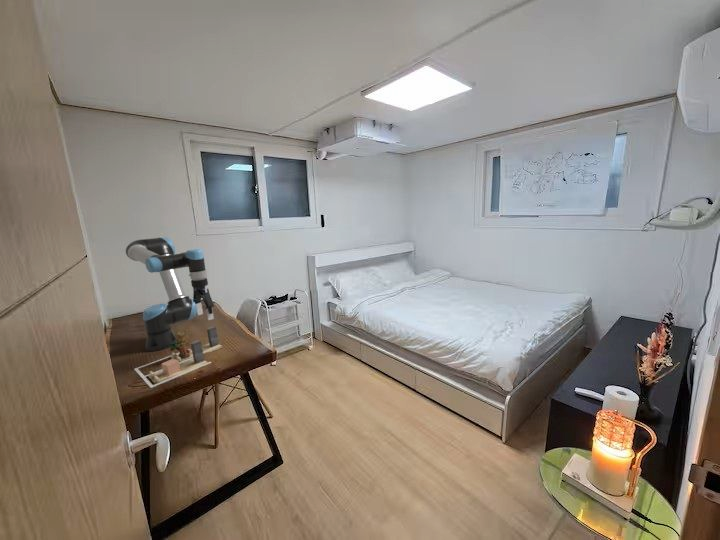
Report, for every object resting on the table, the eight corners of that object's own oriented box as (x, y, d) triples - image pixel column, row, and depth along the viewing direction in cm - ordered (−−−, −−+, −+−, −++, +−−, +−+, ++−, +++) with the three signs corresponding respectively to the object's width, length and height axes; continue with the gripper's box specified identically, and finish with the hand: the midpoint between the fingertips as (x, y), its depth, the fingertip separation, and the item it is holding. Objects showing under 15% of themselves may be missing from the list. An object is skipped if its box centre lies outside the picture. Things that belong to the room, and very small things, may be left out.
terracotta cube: (163, 373, 133) (161, 363, 132) (174, 368, 138) (172, 358, 137) (169, 376, 131) (167, 365, 130) (180, 370, 135) (178, 360, 134)
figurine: (191, 353, 154) (186, 327, 151) (194, 358, 148) (189, 331, 145) (171, 359, 148) (166, 332, 146) (173, 365, 143) (167, 336, 140)
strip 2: (170, 358, 150) (166, 339, 148) (213, 342, 166) (210, 324, 164) (178, 364, 143) (174, 344, 141) (222, 347, 159) (219, 328, 157)
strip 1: (148, 378, 132) (143, 356, 130) (199, 358, 148) (195, 338, 146) (156, 386, 125) (151, 363, 123) (208, 364, 141) (204, 343, 139)
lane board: (134, 371, 139) (133, 368, 139) (190, 350, 158) (190, 348, 158) (151, 390, 122) (150, 387, 122) (211, 364, 141) (211, 362, 141)
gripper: (182, 277, 157) (189, 314, 161) (201, 283, 141) (208, 323, 146) (196, 275, 163) (203, 310, 167) (216, 279, 147) (223, 319, 151)
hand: (205, 316), depth 156 cm, fingers open, 13 cm apart
